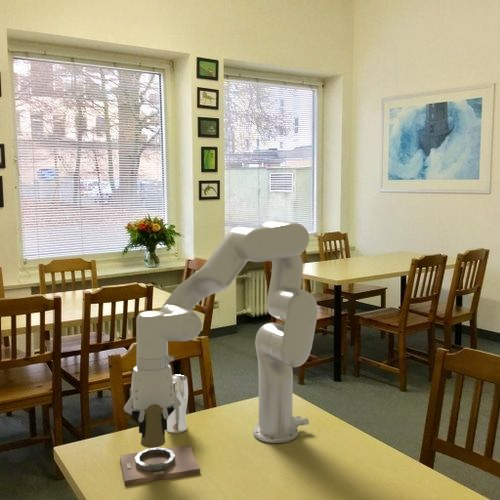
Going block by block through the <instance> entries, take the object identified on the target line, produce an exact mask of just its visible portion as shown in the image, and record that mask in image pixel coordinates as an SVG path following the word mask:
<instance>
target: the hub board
mask: <svg viewBox="0 0 500 500" xmlns="http://www.w3.org/2000/svg"><path fill="white" fill-rule="evenodd" d="M165 448H166V449H169V450H171V451H173V452H174V455H175V463H174V464H173V466H172V467H170V468H168V469H166V470H164V471H160V472H143V471H141V470H139V469H137V468H136V465H135V457H136V455H137V454H138V453H139V452H140V451H139V452H133V453H125V454H120V455H119V457H120V458H119V459H120V465H121V470H122V475H123V476H122V477H123V482H124V486H131V485H138V484H144V483H149V482H156V481H160V480H166V479H167V480H168V479H173V478H180V477H185V476H191V475H198V474H201V467H200V465H199V463H198V461H197V458H196V456H195V454H194V452H193V450H192V447H191V445H190V444H186V445H179V446H173V447H172V446H171V447H165ZM167 460H169V457H167V456H165V455H152V456H148V457H146V458H143V459H142V460H141V462H143V463H145V464H160V463H163V462H165V461H167Z"/></svg>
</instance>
